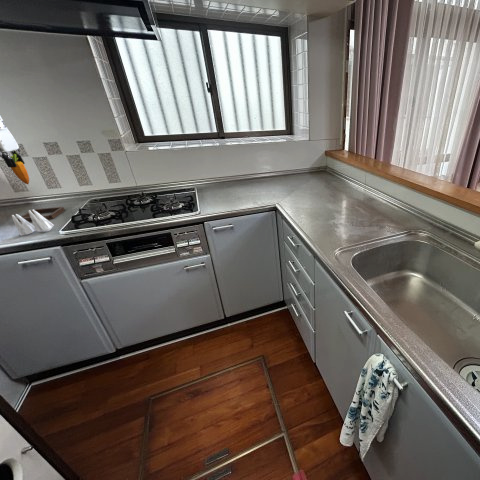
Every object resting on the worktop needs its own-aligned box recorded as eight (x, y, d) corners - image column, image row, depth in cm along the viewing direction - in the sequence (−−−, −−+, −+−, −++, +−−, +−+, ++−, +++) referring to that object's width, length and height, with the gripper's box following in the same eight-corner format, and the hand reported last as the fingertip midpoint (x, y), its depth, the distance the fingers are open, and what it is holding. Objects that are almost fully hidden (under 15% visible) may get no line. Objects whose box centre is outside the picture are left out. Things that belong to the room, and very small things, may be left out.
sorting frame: (18, 222, 133) (16, 219, 132) (34, 212, 144) (32, 209, 143) (52, 219, 136) (50, 215, 135) (65, 209, 147) (63, 206, 146)
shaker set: (56, 228, 128) (44, 206, 122) (51, 232, 124) (39, 210, 119) (25, 232, 125) (11, 210, 119) (19, 236, 121) (5, 214, 116)
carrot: (18, 186, 134) (0, 155, 126) (24, 183, 138) (7, 153, 130) (30, 185, 135) (13, 155, 127) (36, 182, 139) (20, 152, 131)
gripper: (-3, 123, 129) (19, 161, 138) (-32, 128, 114) (-6, 170, 124) (16, 123, 130) (36, 160, 139) (-10, 128, 116) (14, 169, 125)
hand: (16, 165), depth 131 cm, fingers closed on carrot, 5 cm apart
